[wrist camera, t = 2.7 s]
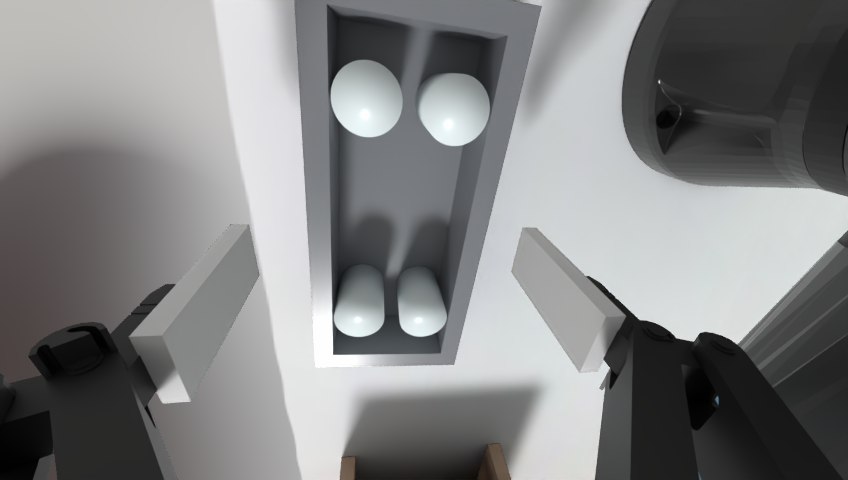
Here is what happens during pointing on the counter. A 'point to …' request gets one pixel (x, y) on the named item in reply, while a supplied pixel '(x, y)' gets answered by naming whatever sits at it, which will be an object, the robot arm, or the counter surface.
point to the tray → (403, 165)
